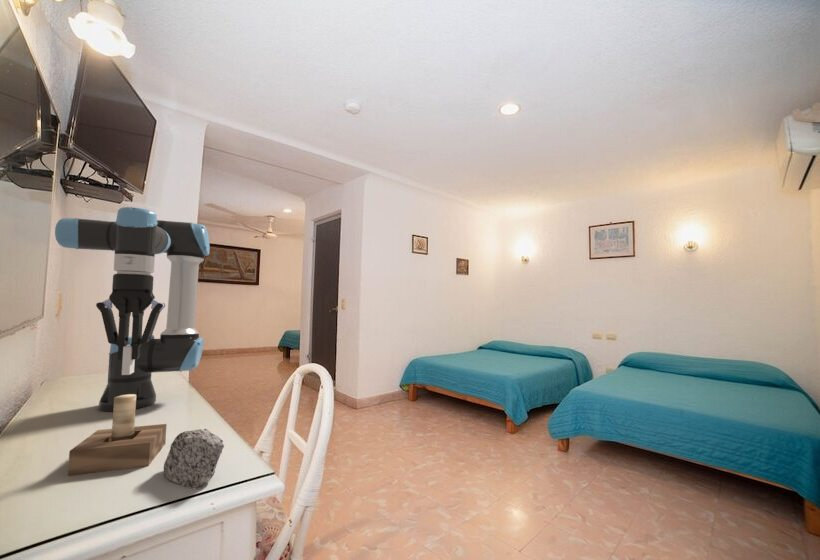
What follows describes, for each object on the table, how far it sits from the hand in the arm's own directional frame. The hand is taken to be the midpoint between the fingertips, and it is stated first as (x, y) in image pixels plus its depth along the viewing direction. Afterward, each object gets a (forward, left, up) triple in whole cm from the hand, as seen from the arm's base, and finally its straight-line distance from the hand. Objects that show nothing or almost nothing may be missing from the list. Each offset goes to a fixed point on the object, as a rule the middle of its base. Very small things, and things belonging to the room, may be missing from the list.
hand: (127, 373), depth 81 cm
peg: (0, 0, -19) cm, 19 cm away
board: (0, 0, -19) cm, 19 cm away
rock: (+14, +17, -20) cm, 30 cm away
